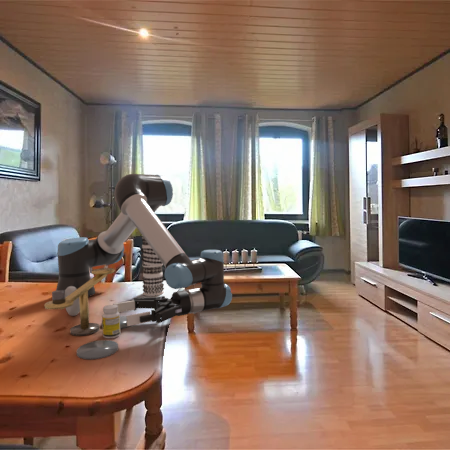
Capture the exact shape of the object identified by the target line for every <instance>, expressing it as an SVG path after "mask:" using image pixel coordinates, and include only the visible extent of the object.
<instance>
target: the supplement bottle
mask: <svg viewBox="0 0 450 450" xmlns="http://www.w3.org/2000/svg"><path fill="white" fill-rule="evenodd" d="M117 311H118V306H117V305H113V304H108V305H104V306H103V307H102V312H103V313H102V315H101V317H102V321H101V323H102V322H103V327H102V336H103V338H104V339H114V338H118V337H119V336H120V335H121V329H120V316H121V315H120V312H117Z"/></svg>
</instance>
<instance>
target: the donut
mask: <svg viewBox="0 0 450 450" xmlns="http://www.w3.org/2000/svg"><path fill="white" fill-rule="evenodd" d="M75 290H77V289H76V288H75V287H73V286H70V287H68V288H67V289H66V290H65V298H66V297H67V296H69V295H70V294H71V293H73V292H74V291H75ZM65 310H66V313H68V315H69V316H71V317H74V316H77V315H79V314H80V304H79V298H77V299H76V300H75V301H73V305H72V306H70V307H67V308H65Z"/></svg>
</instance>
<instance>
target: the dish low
mask: <svg viewBox="0 0 450 450" xmlns="http://www.w3.org/2000/svg"><path fill="white" fill-rule="evenodd" d="M116 351H117V352H118V351H119V343H118V342H116V341H115V340H111V339H100V340H94V341H89V342H87V343H83V344H82V345H80V346H79V347H77V349H76V356H77V358H79V359H81V358H82V359H83V360H90V361H91V360H99V359H103V358H107V357H110V356H112V355H115V353H116ZM111 354H112V355H111Z"/></svg>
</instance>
